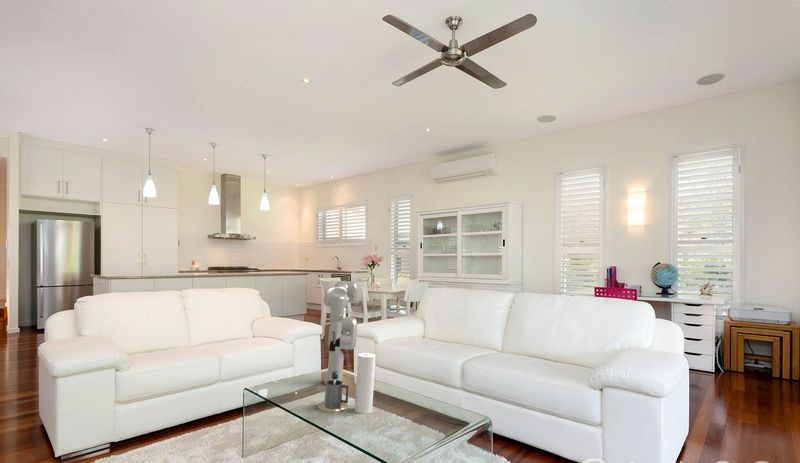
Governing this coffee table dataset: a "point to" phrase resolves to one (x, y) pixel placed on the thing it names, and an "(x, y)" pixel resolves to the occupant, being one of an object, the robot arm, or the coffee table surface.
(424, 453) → the coffee table surface
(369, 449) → the coffee table surface
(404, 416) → the coffee table surface
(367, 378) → the cylinder container
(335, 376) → the plunger
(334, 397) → the press carafe
